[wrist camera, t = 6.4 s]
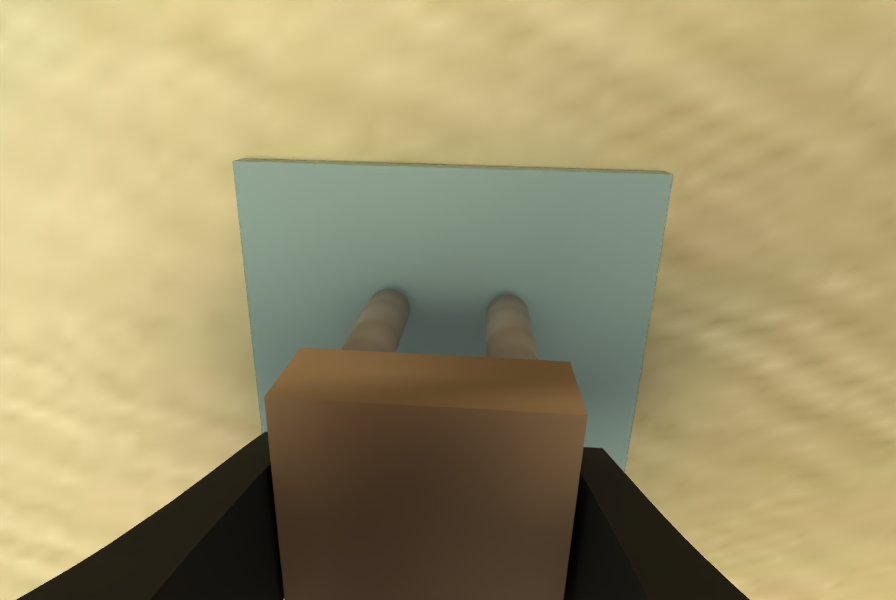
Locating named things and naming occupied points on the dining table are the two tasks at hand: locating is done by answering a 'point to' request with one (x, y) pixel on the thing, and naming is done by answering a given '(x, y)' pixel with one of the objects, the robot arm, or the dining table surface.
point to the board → (458, 264)
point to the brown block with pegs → (425, 465)
